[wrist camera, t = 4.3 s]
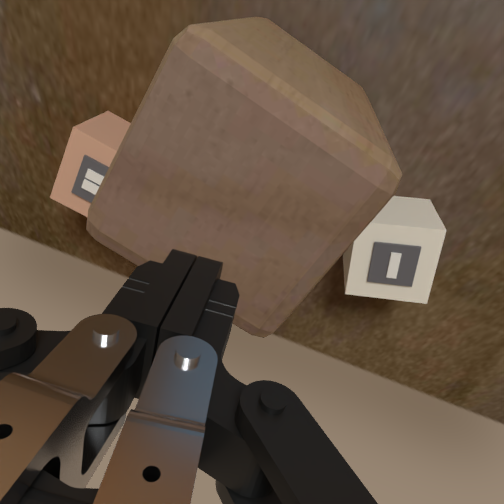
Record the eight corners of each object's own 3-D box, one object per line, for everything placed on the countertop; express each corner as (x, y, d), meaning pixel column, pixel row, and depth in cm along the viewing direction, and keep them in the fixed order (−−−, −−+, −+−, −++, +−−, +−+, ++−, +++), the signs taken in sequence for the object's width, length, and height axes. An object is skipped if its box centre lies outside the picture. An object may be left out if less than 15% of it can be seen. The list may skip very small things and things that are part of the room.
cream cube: (429, 199, 38) (447, 232, 32) (413, 265, 40) (427, 306, 35) (353, 191, 38) (357, 223, 33) (342, 257, 41) (345, 296, 35)
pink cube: (175, 147, 39) (149, 171, 33) (148, 206, 41) (120, 237, 36) (108, 110, 38) (70, 128, 32) (85, 173, 41) (47, 199, 35)
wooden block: (293, 198, 39) (265, 354, 21) (189, 129, 38) (68, 235, 20) (371, 92, 35) (418, 181, 17) (257, 9, 33) (178, 12, 16)
